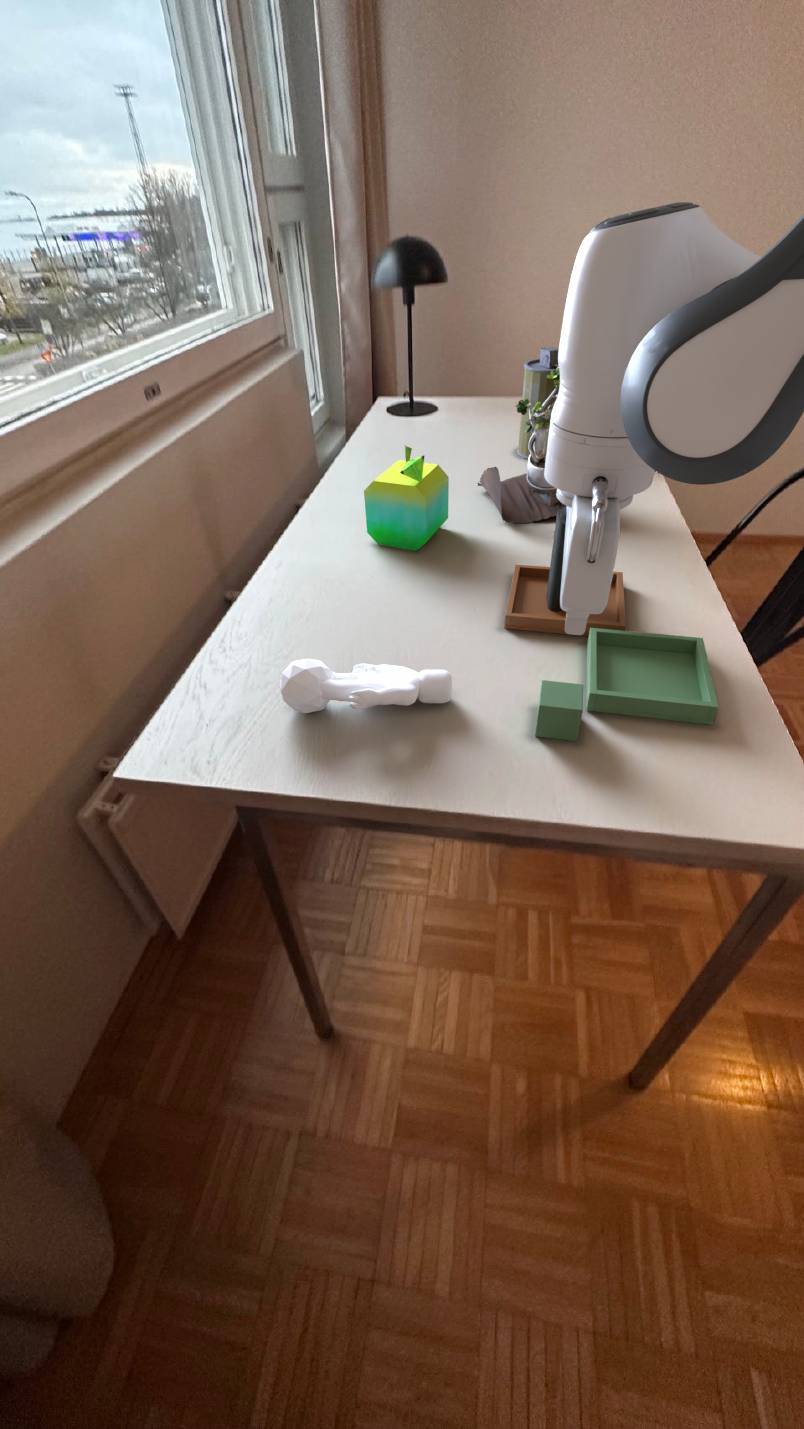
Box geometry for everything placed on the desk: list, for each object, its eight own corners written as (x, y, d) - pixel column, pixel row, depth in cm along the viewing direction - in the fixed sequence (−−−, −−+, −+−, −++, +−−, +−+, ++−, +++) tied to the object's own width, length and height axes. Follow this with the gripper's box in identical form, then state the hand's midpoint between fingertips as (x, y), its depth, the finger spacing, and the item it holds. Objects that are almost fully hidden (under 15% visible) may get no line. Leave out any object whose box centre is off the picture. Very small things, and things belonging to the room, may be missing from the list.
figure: (273, 731, 69) (455, 731, 70) (270, 673, 66) (458, 675, 67) (286, 695, 79) (444, 696, 80) (283, 645, 77) (446, 646, 78)
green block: (577, 715, 72) (583, 684, 69) (576, 741, 69) (582, 710, 66) (537, 710, 73) (541, 679, 70) (534, 736, 70) (539, 705, 67)
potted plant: (607, 527, 114) (608, 393, 94) (507, 562, 115) (487, 436, 96) (567, 470, 126) (560, 341, 107) (477, 502, 128) (454, 380, 108)
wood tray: (619, 584, 94) (622, 572, 92) (623, 639, 83) (626, 626, 82) (514, 576, 97) (515, 564, 95) (504, 628, 86) (505, 615, 85)
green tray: (697, 654, 80) (703, 637, 78) (712, 725, 70) (718, 707, 68) (587, 644, 83) (590, 627, 81) (586, 710, 73) (589, 693, 71)
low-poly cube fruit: (368, 542, 108) (360, 452, 98) (392, 519, 114) (387, 433, 104) (426, 552, 104) (425, 460, 94) (448, 528, 111) (449, 439, 101)
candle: (581, 593, 91) (613, 408, 75) (585, 612, 87) (620, 421, 71) (545, 593, 92) (569, 408, 75) (548, 611, 88) (573, 421, 71)
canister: (507, 450, 140) (515, 347, 126) (547, 441, 143) (558, 341, 130) (535, 465, 132) (546, 357, 119) (576, 456, 135) (591, 350, 122)
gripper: (648, 512, 44) (611, 671, 53) (634, 421, 59) (607, 558, 68) (555, 506, 45) (534, 663, 54) (565, 419, 60) (547, 553, 69)
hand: (575, 603), depth 61 cm, fingers open, 8 cm apart
